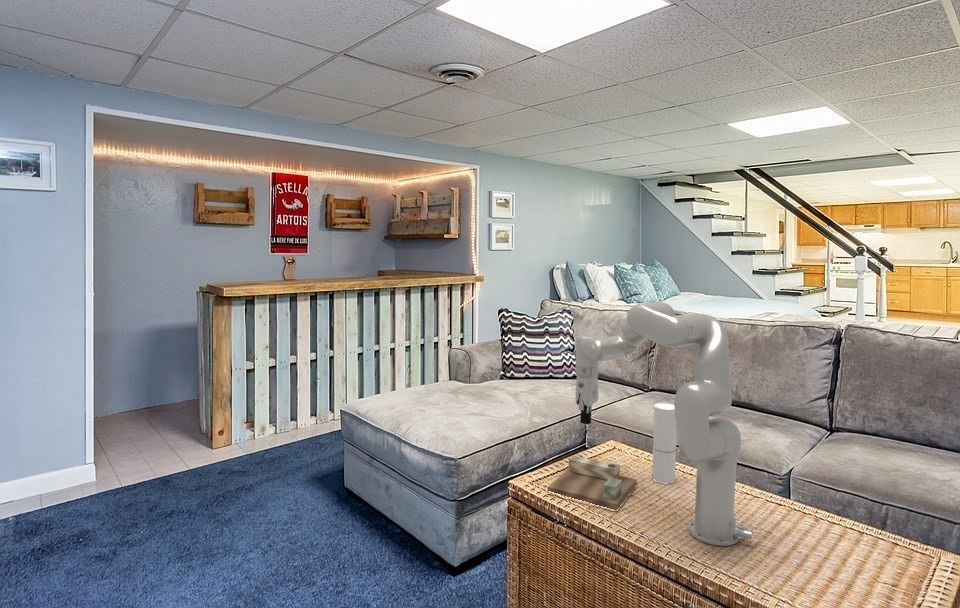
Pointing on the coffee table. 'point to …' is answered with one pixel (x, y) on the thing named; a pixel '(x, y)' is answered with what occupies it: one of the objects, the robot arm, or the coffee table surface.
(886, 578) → the coffee table surface
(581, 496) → the brown board with blocks
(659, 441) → the cylindrical container
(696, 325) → the robot arm
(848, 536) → the coffee table surface
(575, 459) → the folding leg
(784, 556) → the coffee table surface
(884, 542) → the coffee table surface
